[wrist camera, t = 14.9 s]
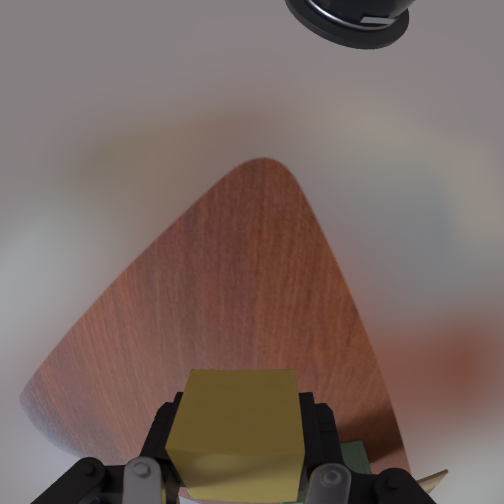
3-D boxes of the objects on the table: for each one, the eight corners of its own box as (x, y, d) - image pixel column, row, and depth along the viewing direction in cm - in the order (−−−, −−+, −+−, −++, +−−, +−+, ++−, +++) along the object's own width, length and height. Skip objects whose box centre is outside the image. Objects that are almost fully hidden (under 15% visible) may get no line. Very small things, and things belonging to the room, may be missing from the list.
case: (280, 448, 30) (282, 503, 22) (362, 439, 30) (376, 490, 21) (278, 480, 33) (279, 525, 24) (348, 472, 32) (357, 516, 24)
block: (191, 368, 10) (163, 447, 6) (295, 368, 10) (305, 452, 6) (206, 429, 11) (191, 498, 8) (292, 430, 11) (297, 501, 7)
